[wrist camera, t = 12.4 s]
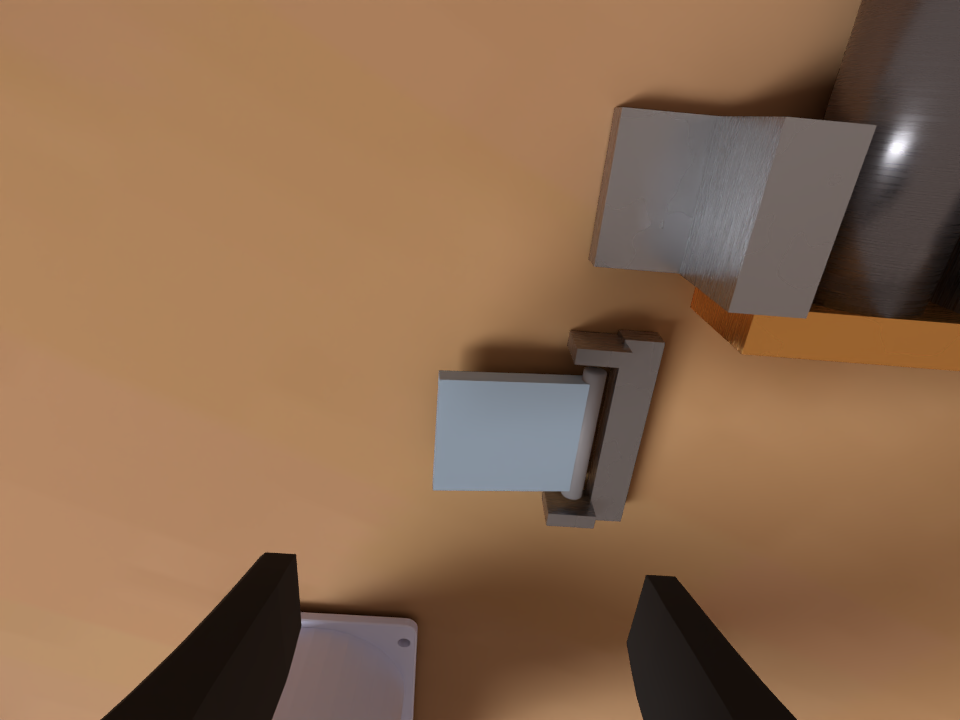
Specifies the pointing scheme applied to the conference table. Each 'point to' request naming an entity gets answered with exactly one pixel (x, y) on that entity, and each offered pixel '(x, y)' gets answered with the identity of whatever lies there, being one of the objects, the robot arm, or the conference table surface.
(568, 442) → the plate
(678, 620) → the robot arm
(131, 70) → the conference table surface
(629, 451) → the tab mount
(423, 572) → the conference table surface
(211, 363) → the conference table surface
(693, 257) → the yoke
